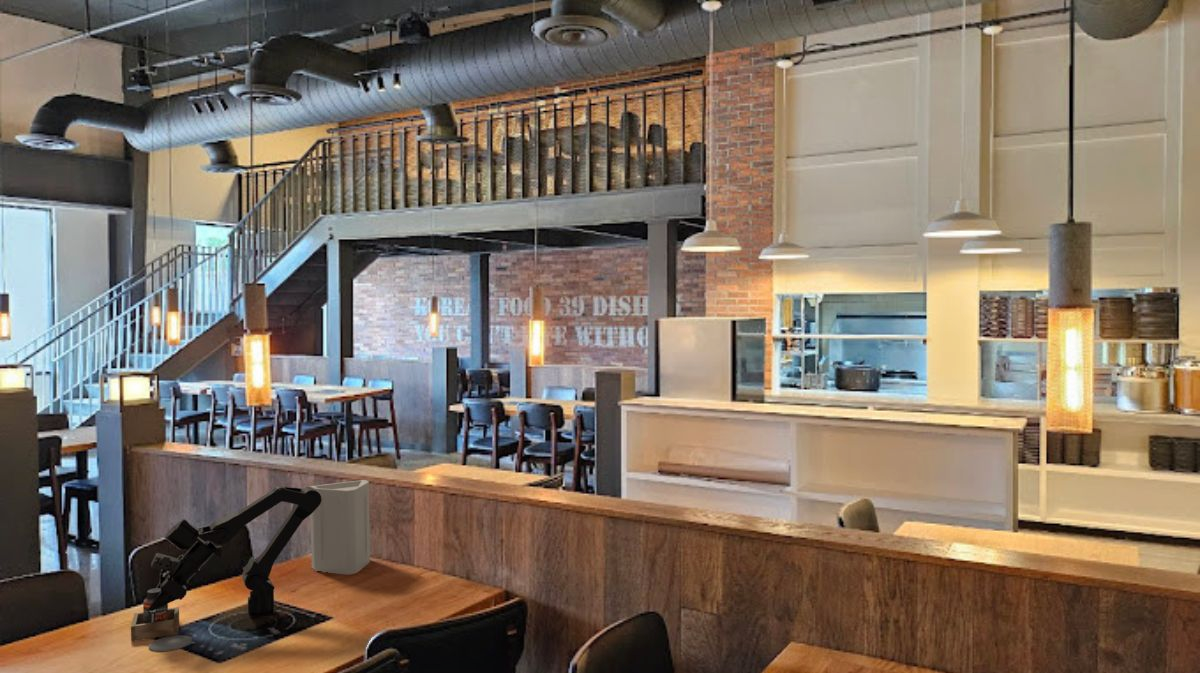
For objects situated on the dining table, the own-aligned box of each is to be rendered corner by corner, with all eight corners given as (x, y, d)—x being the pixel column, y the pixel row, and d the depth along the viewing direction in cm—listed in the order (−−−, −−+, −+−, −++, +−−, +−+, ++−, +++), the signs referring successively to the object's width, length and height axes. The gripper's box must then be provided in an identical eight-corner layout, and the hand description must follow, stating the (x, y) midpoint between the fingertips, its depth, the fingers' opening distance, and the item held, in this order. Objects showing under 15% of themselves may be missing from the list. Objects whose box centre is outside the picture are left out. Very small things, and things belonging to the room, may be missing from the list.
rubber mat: (192, 634, 223) (192, 632, 223) (191, 647, 214) (191, 646, 214) (150, 640, 219) (150, 639, 219) (147, 654, 210) (147, 653, 210)
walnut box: (179, 621, 233) (179, 607, 233) (177, 634, 223) (177, 619, 223) (134, 627, 228) (134, 613, 228) (131, 641, 218) (130, 626, 218)
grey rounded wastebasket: (322, 579, 269) (321, 493, 269) (311, 567, 282) (309, 486, 281) (380, 568, 280) (378, 486, 279) (366, 558, 292) (365, 479, 291)
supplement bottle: (157, 636, 222) (156, 594, 222) (138, 634, 223) (137, 593, 223) (173, 627, 228) (172, 587, 228) (154, 626, 229) (153, 585, 229)
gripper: (169, 534, 235) (125, 579, 230) (171, 550, 219) (124, 599, 214) (200, 558, 239) (158, 602, 234) (205, 575, 223) (159, 623, 218)
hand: (149, 606), depth 225 cm, fingers open, 7 cm apart
